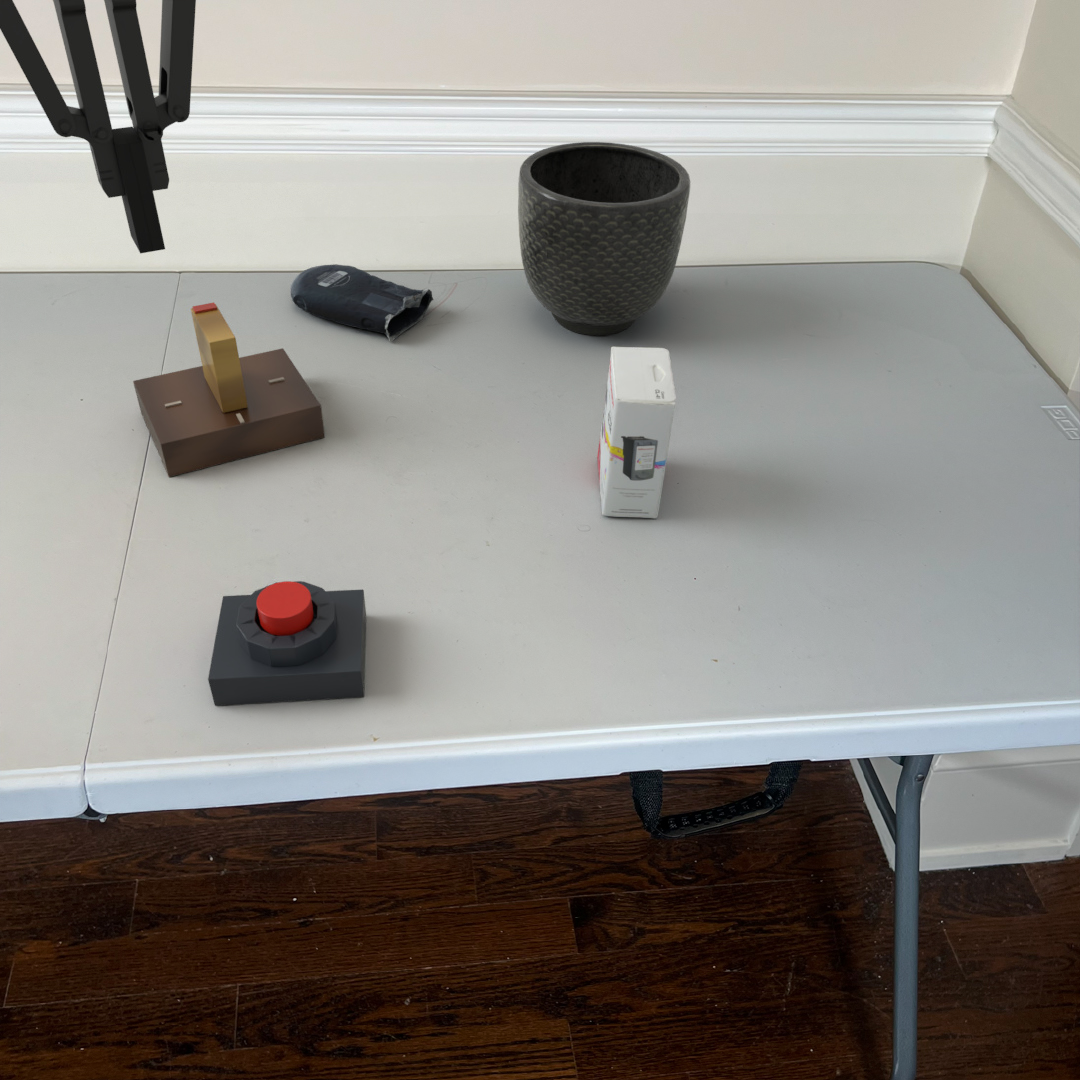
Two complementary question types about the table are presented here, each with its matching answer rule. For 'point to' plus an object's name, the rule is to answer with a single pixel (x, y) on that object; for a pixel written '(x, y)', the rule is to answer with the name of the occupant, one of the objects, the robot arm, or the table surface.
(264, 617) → the button
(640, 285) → the planter
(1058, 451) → the table surface
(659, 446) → the ink box
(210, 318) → the thumb turn
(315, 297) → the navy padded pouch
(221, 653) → the grey square base
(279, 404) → the plate
